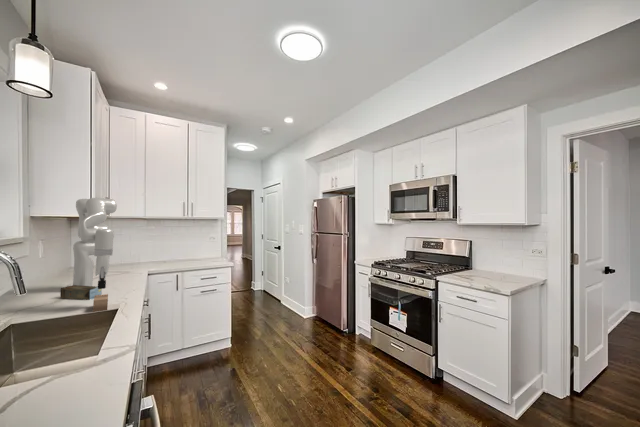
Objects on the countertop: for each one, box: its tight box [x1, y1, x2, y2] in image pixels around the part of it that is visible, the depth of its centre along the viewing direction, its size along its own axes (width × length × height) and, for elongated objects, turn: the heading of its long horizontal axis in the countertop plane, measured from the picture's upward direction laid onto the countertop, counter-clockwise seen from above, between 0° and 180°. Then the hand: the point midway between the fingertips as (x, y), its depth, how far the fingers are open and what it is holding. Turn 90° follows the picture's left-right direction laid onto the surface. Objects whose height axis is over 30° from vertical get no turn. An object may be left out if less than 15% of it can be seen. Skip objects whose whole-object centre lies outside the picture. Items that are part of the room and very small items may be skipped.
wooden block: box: [92, 293, 109, 313], centre depth 142 cm, size 6×6×12 cm
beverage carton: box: [59, 284, 103, 301], centre depth 161 cm, size 8×19×7 cm, turn 83°
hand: (101, 288), depth 145 cm, fingers closed
